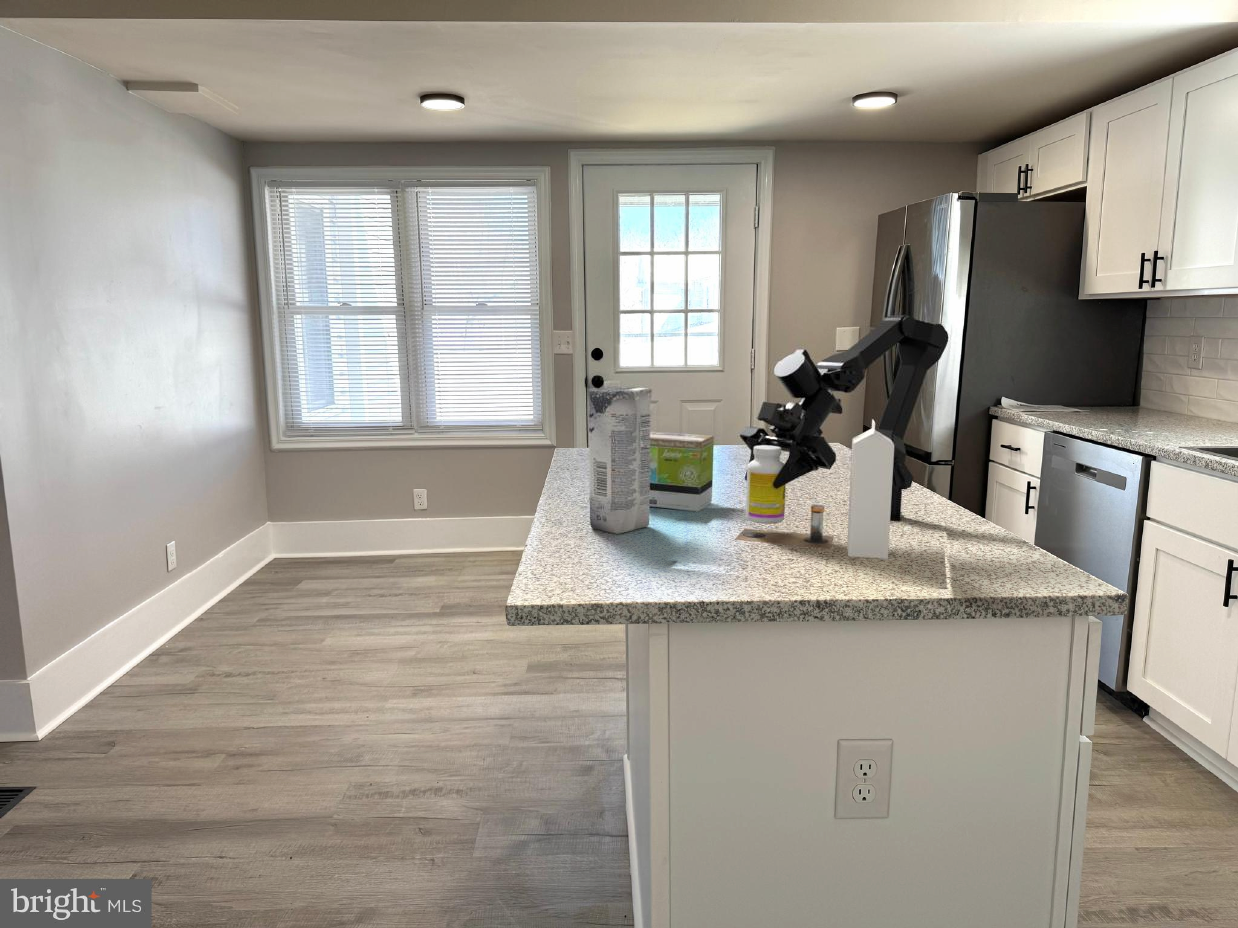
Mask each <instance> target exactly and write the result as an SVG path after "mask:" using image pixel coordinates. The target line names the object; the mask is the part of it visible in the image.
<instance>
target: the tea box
mask: <svg viewBox="0 0 1238 928" xmlns="http://www.w3.org/2000/svg"><path fill="white" fill-rule="evenodd" d="M714 437H715V436H714V435H710V434H709V435H708V434H707V435H705V434H704V435H703V434H694V433H693V434H692V433H681V432H680V433H676V432H661V431H650V504H649V507H654V508H665V509H672V510H681V511H689V512H694V511H696V513H699V512H700V511H701V509H702V510H703V509H704V508H707V506H709V505H710V504H712V502H713V501H712V499H713V485H714V484H713V479H714V478H713V477H714V473H713V472H714V447H715V446H714V443H715V441H714V439H715V438H714Z"/></svg>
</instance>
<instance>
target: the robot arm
mask: <svg viewBox="0 0 1238 928" xmlns="http://www.w3.org/2000/svg"><path fill="white" fill-rule="evenodd" d="M948 333H949V332H948V331H947V330H946V328H945V327H944V326H943V325H942V324H940V323H931V322H928V321H923V320H918V319H916V318H914V317H911V316H909V315H906V314H905V315H904V314H903V315H902V314H901V315H888V316H886V317H884V319H882V321H881V323H879V324H878V325H877V326H876V327H875V328H873V329H872V330H871V331H870V332H868V334H866V335H865V336H864V337H862V338H861V339H860V340H858V341H857V342H856V343H855V344H853V345H852V346H850V348H849V349H847V350H845V351H842V352H839V353H835V354H832V355H830V356H827V357H826V358H824V359H822V360H821V361H819V362H818V363H817V364H815V362H814V361H813V359H812V358H811V355H810V354H809V352H808V351H807V349H796V350H795V351H794V352H793V353H792V354H789V355H788V356H785V357H784V358H783V359H782V360H779V361H778V362H777V363H776V365H775V367H774V370H773V371H774V372H773V373H774V375H775V376H776V378H777V379H778V380H779V382H780V383H781V384H782V386H783V388H784V389H785V390H786V391H787V393H788V394H789V396H790V397H791V398H793V399H799V401H797V402H794V401H793V402H792V401H789V402H788V403H787V404H783V403H778V402H771V401H770V402H769V401H763V402H762V404H761V406H760V410H759V412H758V414H757V415H758V416H757V417H756V419H757V420H758V421H759V422H760V421H763V422H764V423H765V424H767V425H769V426H770V427H769V428H768V429H769V430H770V432H771V433H772V434H775V435H774V436H770V435H769V434H768V432H767V431H766V430H765V428H762V427H756V426H745V427H744V429H743V430H742V432H741V433H740V435H739V437H740V439H741V440H742V442H744V444H746V446H747V448H748V449H749V450H750V456H749V461H748V464H749V463H750V462H751V461H753V460H754V458H755V456H754V453H753V451H754V447H755V446H762V445H767V446H777V447H781V452H784V453H788V457H787V460H786V461H785V463H784V466H783V467H782V469H781V471H780V472H779V474H778V475H777V477H776V479H775V481H774V483H773V486H774V488H776V489H778V488H780V487H781V486H783V485H785V484H786V485H787V484H789V483H790V482H793V481H794V480H796V479H799V478H800V477H803V476H805V475H807V474H809V473H811V472H817V471H818V470H819V468H820V469H824V470H825V469H826V470H831V469H832V467H834V464H835V463H836V461H837V453H836V452H835V451H834V449H833V447H832V446H831V445H830V443H829V442H828V441H827V439H826V438H825V436H822V435H823V433H824V432H823V430H822V429H821V428H822V425H823V424H824V423H825V421H826V420H827V418H828V417H829V415H830V414H835V415H836V414H837V415H841V414H843V406H842V403H841V402H842V401H841V400H842V399H841V398H837V397H836V396H835V394H834V393H845V394H849V393H852V392H854V391H855V390H856V389H857V388H858V386H859V385H860V384H861V383H862V382H863V380H864V379H865V378H866V371H867V370H868V368H869V367H870V366H872V364H874V363H875V362H876V361H877V360H880V358H882V357H883V355H885V354H886V353H887V352H889V351H890V350H891V349H892V348H893V347H894V346H896V345H898V346H897V347H898V348H897V351H898V352H897V353H898V355H899V359H900V366H899V369H898V372H897V375H896V377H895V380H894V383H893V386H892V389H891V391H890V395H889V398H888V400H887V403H886V406H885V408H884V411H883V413H882V416H881V419H880V422H879V426H878V428H877V430H876V431H877V432H879V433H881V434H882V435H884V436H886V437H887V438H889V439H891V441H892V442H893V444H894V459H893V477H892V495H891V512H890V521H902V515H903V514H902V501H903V500H902V498H903V490H908V489H910V488H912V486H913V485H912V484H913V480H914V475H913V473H911V471H910V470H909V468H908V467H907V465H906V464H905V463H906V462H905V461H906V458H907V451H906V447H905V442H904V437H905V434H906V431H907V428H908V426H909V423H910V421H911V418H912V414H913V413H914V412H913V411H914V409H915V405H916V403H917V400H918V397H919V394H920V392H921V389H922V387H923V383H924V380H925V378H926V375H927V372H928V371H929V370H930V369H931V368H932V367H933V366H934V365H935V364H936V363H937V362H939V361H940V360H941V358H942V355H943V354H944V352H945V350H946V347H947V345H948V343H949V334H948ZM744 480H745V481H746V482H747V470H746V472H745V476H744Z"/></svg>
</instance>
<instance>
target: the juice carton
mask: <svg viewBox="0 0 1238 928" xmlns="http://www.w3.org/2000/svg"><path fill="white" fill-rule="evenodd" d="M620 382H621V381H620V380H610V381H604V382H603V384H604V385H603V386H604V388H590V389H588V390H587V393H588V394H587V395H588V406H589V407H588V410H589V411H588V414H589V415H588V417H589V419H588V422H589V425H588V427H589V429H588V430H589V431H588V433H589V434H588V435H589V437H588V439H589V440H588V441H589V443H588V445H589V446H588V447H589V448H588V449H589V450H588V451H589V452H588V453H589V459H588V461H589V522H590V524H589V525H590V528H591V529H594V530H597V531H598V530H599V531H604V532H607V533H611V534H616V535H620V534H623V533H628V532H631V531H635V530H639V529H644V528H646V527H648V526H649V525H650V506H649V504H650V432H651V404H652V403H651V401H652V393H653V391H652V388H649V387H648V388H647V387H637V386H621V385H620Z"/></svg>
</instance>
